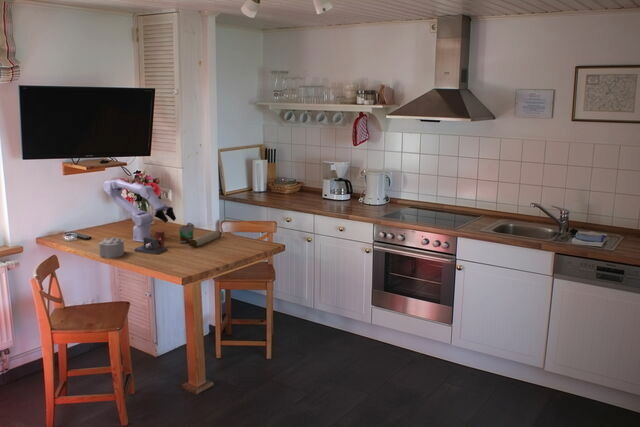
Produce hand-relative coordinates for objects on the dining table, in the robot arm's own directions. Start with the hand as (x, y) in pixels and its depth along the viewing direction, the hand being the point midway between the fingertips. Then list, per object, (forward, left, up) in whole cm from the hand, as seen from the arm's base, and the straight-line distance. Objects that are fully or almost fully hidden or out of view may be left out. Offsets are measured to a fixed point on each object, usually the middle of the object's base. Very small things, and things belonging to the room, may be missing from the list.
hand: (170, 220), depth 338 cm
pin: (-4, -11, -13) cm, 18 cm away
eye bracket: (-4, -14, -14) cm, 21 cm away
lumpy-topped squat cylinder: (-18, -28, -15) cm, 37 cm away
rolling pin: (+15, +13, -15) cm, 24 cm away
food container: (+5, +10, -15) cm, 18 cm away
